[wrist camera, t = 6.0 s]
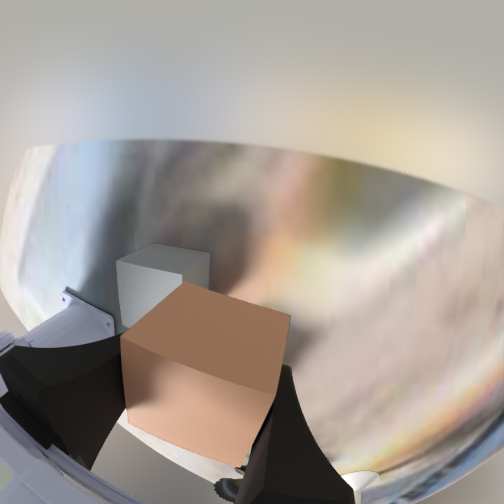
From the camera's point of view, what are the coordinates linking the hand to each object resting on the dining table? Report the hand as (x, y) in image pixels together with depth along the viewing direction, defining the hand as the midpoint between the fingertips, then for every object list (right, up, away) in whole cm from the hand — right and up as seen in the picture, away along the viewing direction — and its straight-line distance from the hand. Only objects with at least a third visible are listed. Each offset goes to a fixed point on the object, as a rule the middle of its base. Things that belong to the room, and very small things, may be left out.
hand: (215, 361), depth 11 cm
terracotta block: (0, 0, +1) cm, 2 cm away
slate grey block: (-4, +3, +10) cm, 11 cm away
